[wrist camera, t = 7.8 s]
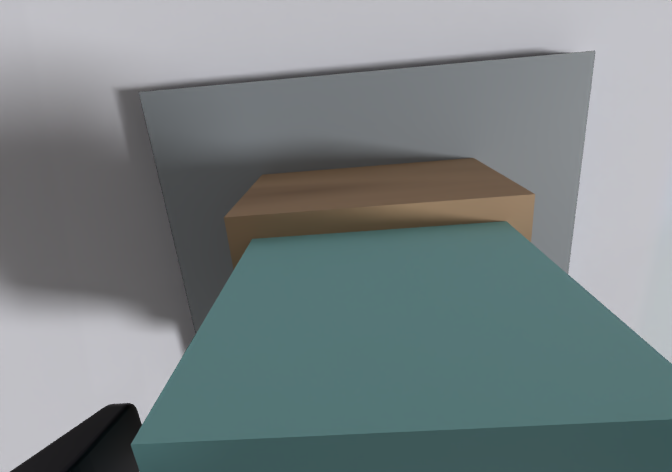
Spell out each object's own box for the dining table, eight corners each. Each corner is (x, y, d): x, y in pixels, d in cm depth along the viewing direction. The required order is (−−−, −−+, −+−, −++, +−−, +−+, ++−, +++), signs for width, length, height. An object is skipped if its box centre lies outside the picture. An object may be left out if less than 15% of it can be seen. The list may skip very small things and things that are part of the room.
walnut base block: (467, 339, 14) (514, 436, 10) (288, 349, 14) (267, 448, 10) (473, 157, 12) (535, 194, 8) (262, 174, 12) (224, 217, 8)
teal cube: (492, 421, 10) (630, 735, 5) (283, 431, 10) (229, 739, 5) (505, 221, 8) (731, 416, 3) (252, 238, 8) (130, 444, 4)
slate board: (540, 375, 15) (553, 395, 14) (222, 392, 16) (214, 412, 15) (575, 53, 12) (595, 50, 11) (154, 90, 12) (138, 92, 11)
